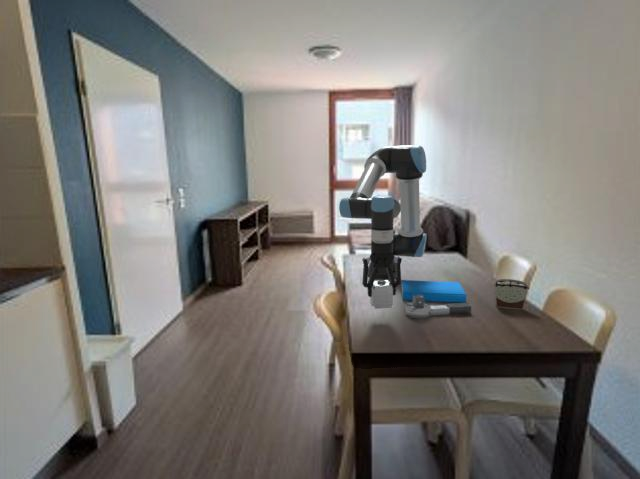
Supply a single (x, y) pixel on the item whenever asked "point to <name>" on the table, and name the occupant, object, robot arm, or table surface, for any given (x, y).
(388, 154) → the robot arm
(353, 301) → the table surface
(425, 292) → the book
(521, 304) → the food container
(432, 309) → the ratchet
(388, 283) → the grey block with knob
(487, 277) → the table surface
